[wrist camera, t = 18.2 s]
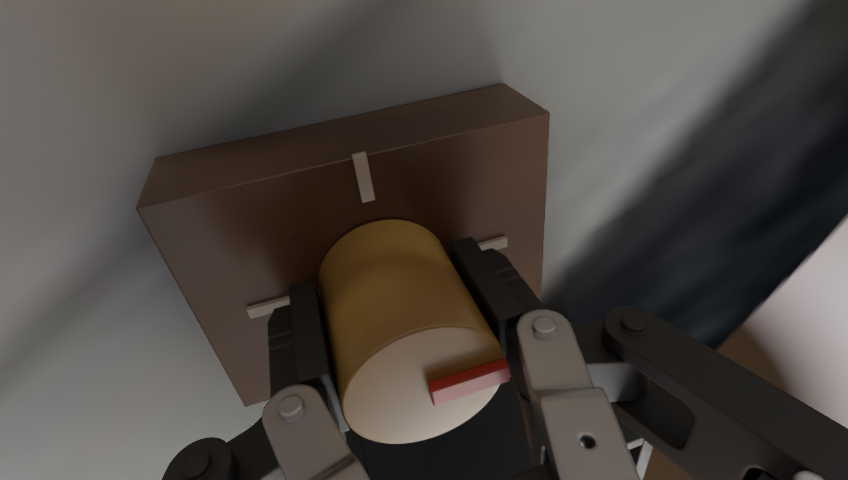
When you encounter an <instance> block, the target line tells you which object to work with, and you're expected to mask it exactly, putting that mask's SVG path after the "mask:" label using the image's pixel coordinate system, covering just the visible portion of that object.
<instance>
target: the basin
mask: <svg viewBox="0 0 848 480" xmlns="http://www.w3.org/2000/svg"><path fill="white" fill-rule="evenodd" d="M568 321H569V322H570V320H568ZM616 418H617V417H616ZM617 421H618V423H619V426H620V428H621V431H622V433H623V436H624V438H625V441H626V443H627V446H628V448H629V451H630V453H631V456H632V458H633V461H634V463H635V466H636V468H637V471H638V473H639V476H640V478H641V480H643V477H644V474H645V471H646V467H647V464H648V461H649V458H650V455H651V452H652V448H653V446H651V445H650V444H649V443H648V442H646V441H645V440H644V439H643V438H641V437H640V436H639V435H638V434H636V433H635V432H634V431H633V430H631V429H630V428H629V427H628V426H626V425H625V424H624V423H623V422H621V421H620V420H619V419H618V418H617ZM345 436H346V442H347V444H348V446H349V448H350V450H351V452H352V453H353V455H356V456H357V458H358V459H359V461H360V463H361V464H362V466H363V468H364V470H365V471H366V473H367V475H368V477H369V478H370V480H508V479H509V478H511V477H512V476H513V475H515V474H518V473H521V472H523V471H526V470H529V469H531V464H530V457H529V452H528V448H527V443H526V438H525V434H524V429H523V424H522V420H521V415H520V411H519V406H518V401H517V397H516V384H515V382H514V381H513V379H512V377H510V380H509V381H508V382H505V383H502V384H500V386H499V387H498V389H497V391H496V393H495V394H494V395H493V397H492V398H491V399H490V401H489V402H488V403H487V404H486V405H485V406H484V407H483V408H482V409H481V410H480V411H479V412H478V413H476V414H475V415H474V416H473V417H471V418H470V419H469V420H467V421H466V422H464V423H463V424H461V425H459V426H457V427H456V428H454V429H452V430H450V431H448V432H446V433H443V434H441V435H438V436H436V437H433V438H429V439H426V440H422V441H418V442H412V443H403V444H387V443H380V442H375V441H371V440H369V439H366V438H364V437H362V436H360V435H358V434H357V433H355V432H354V431H353V430H352V429H351V428H350V427H349V431H346V432H345Z"/></svg>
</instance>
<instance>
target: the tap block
mask: <svg viewBox="0 0 848 480" xmlns="http://www.w3.org/2000/svg"><path fill="white" fill-rule="evenodd" d="M549 116H550V113H549V112H548V111H547V110H545V109H544V108H542V107H541V106H539V105H537V104H536V103H534V102H533V101H531V100H530V99H528V98H526V97H525V96H523V95H522V94H520V93H519V92H517V91H516V90H514V89H512V88H511V87H509V86H508V85H506V84H499V85H495V86H490V87H485V88H481V89H476V90H471V91H467V92H462V93H458V94H453V95H448V96H444V97H439V98H434V99H430V100H425V101H420V102H416V103H411V104H406V105H402V106H397V107H392V108H388V109H383V110H378V111H374V112H369V113H364V114H360V115H355V116H351V117H346V118H341V119H337V120H332V121H327V122H323V123H318V124H313V125H309V126H304V127H299V128H295V129H290V130H285V131H281V132H276V133H271V134H267V135H262V136H257V137H253V138H248V139H243V140H239V141H234V142H230V143H225V144H220V145H216V146H211V147H206V148H202V149H197V150H192V151H188V152H183V153H178V154H174V155H169V156H164V157H160V158H156V159H155V161H154V163H153V166H152V168H151V171H150V173H149V176H148V178H147V181H146V183H145V186H144V188H143V191H142V193H141V195H140V198H139V200H138V203H137V205H136V210H137V212H138V214H139V215H140V217H141V219H142V221H143V223H144V224H145V226H146V228H147V230H148V232H149V233H150V235H151V237H152V239H153V241H154V243H155V244H156V246H157V248H158V250H159V252H160V253H161V255H162V257H163V259H164V261H165V262H166V264H167V266H168V268H169V270H170V271H171V273H172V275H173V277H174V279H175V281H176V282H177V284H178V286H179V288H180V290H181V291H182V293H183V295H184V297H185V299H186V300H187V302H188V304H189V306H190V308H191V310H192V311H193V313H194V315H195V317H196V319H197V320H198V322H199V324H200V326H201V328H202V329H203V331H204V333H205V335H206V337H207V339H208V340H209V342H210V344H211V346H212V348H213V349H214V351H215V353H216V355H217V357H218V358H219V360H220V362H221V364H222V366H223V367H224V369H225V371H226V373H227V375H228V377H229V378H230V380H231V382H232V384H233V386H234V387H235V389H236V391H237V393H238V395H239V396H240V398H241V400H242V402H243V404H244V406H245V407H247V406H250V405H253V404H257V403H260V402H263V401H266V400H269V399H270V394H271V393H270V370H269V348H268V340H269V339H268V325H267V323H268V321H269V319H270V317H271V315H272V312H273V310H274V309H275V308H278V307H282V306H285V305H289V304H290V299H289V290H288V287H289V286H291V285H295V284H299V283H302V282H306V281H310V280H314V282H315V284H316V287H317V290H318V293H319V289H318V275H319V270H320V267H321V264H322V262H323V260H324V258H325V256H326V255H327V253H328V251H329V250H330V249H331V248H332V246H333V245H334V244H335V243H336V242H337V241H338V240H339V239H340V238H342V237H343V236H344V235H346V234H347V233H349V232H350V231H352V230H354V229H356V228H358V227H360V226H362V225H365V224H368V223H371V222H375V221H380V220H390V219H393V220H404V221H409V222H413V223H416V224H418V225H420V226H423V227H424V228H426V229H428V230H429V231H430V232H431V233H433V234H434V235H435V236H436V238H437V239H438V240H439V241H440V243H441V245H442V247H443V248H444V250H445V252H446V253H447V255H448V243H450V242H453V241H457V240H461V239H464V238H468V237H473V238H474V240H475V241H476V243H477V244H478V245H479V247H480V248H481V250H482V251H483V250H486V249H490V248H493V249H495V250H497V251H498V252H500V253H502V254H504V255H505V256H506V257H507V258H508V259H509V261H510V262H511V263H512V265H513V266H514V269H516V270H517V271H518V273H519V274H520V276H521V278H523V279H524V280H525V282H526V283H527V284H528V286H529V287H530V288H531V290H532V291H533V292H534V294H535V295H536V296H537V298H538V299H539V300H540V301H541V280H542V260H543V239H544V219H545V198H546V177H547V157H548V136H549ZM319 297H320V294H319Z"/></svg>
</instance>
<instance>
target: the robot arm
mask: <svg viewBox="0 0 848 480" xmlns="http://www.w3.org/2000/svg"><path fill="white" fill-rule="evenodd" d="M448 257H449V258H450V260H451V262H452V264H453V265H454V267H455V269H456V270H457V272H458V274H459V275H460V277H461V279H462V280H463V282H464V284H465V286H466V287H467V289H468V291H469V292H470V294H471V296H472V297H473V299H474V301H475V303H476V304H477V306H478V308H479V309H480V311H481V313H482V314H483V316H484V318H485V320H486V321H487V323H488V325H489V326H490V328H491V330H492V331H493V333H494V335H495V337H496V338H497V340H498V342H499V343H500V345H501V347H502V349H503V352H504V357H505V359H506V361H507V363H508V364H509V366H510V377H512V379H513V381H514V382H515V384H516V397H517V401H518V406H519V411H520V415H521V420H522V424H523V429H524V434H525V438H526V443H527V448H528V452H529V457H530V464H531V469H529V470H526V471H523V472H521V473H518V474H515V475H513V476H512V477H511V478H509V479H508V480H641V478H640V476H639V473H638V471H637V468H636V466H635V463H634V461H633V458H632V456H631V453H630V451H629V448H628V446H627V443H626V441H625V438H624V436H623V433H622V431H621V428H620V426H619V423H618V421H617V418H618V419H619V420H620V421H621V422H623V423H624V424H625V425H626V426H628V427H629V428H630V429H631V430H633V431H634V432H635V433H636V434H638V435H639V436H640V437H641V438H643V439H644V440H645V441H646V442H648V443H649V444H650V445H651V446H653V447H654V448H655V449H656V450H658V451H659V452H660V453H661V454H662V455H664V456H665V457H666V458H667V459H669V460H670V461H671V462H672V463H674V464H675V465H677V467H679V468H680V469H681V470H683V471H684V472H685V473H686V474H687V475H689V476H690V477H691V478H692V479H694V480H848V429H847V428H845V427H844V426H842V425H840V424H839V423H837V422H835V421H834V420H832V419H830V418H829V417H827V416H825V415H823V414H822V413H820V412H818V411H817V410H815V409H813V408H812V407H810V406H808V405H807V404H805V403H803V402H801V401H800V400H798V399H796V398H794V397H793V396H791V395H789V394H788V393H786V392H784V391H783V390H781V389H779V388H778V387H776V386H774V385H772V384H771V383H769V382H768V381H766V380H764V379H762V378H761V377H759V376H757V375H756V374H754V373H752V372H751V371H749V370H747V369H745V368H744V367H742V366H740V365H739V364H737V363H735V362H734V361H732V360H730V359H729V358H727V357H725V356H723V355H722V354H720V353H718V352H717V351H715V350H713V349H712V348H710V347H708V346H706V345H705V344H703V343H701V342H700V341H698V340H696V339H695V338H693V337H691V336H690V335H688V334H686V333H684V332H683V331H681V330H679V329H678V328H676V327H674V326H673V325H671V324H669V323H667V322H666V321H664V320H662V319H661V318H659V317H657V316H656V315H654V314H652V313H651V312H649V311H647V310H645V309H642V308H639V307H634V306H620V307H616V308H613V309H611V310H610V311H609V312H608V313H607V314H606V315H605V318H604V322H590V323H575V322H569V321H568V320H567V319H566V318H565V317H564V316H562V315H561V314H559V313H557V312H554V311H551V310H547V309H546V308H545V307H544V305H543V304H542V303H541V301H540V300H539V299H538V298H537V296H536V295H535V294H534V292H533V291H532V290H531V288H530V287H529V286H528V284H527V283H526V282H525V280H524V279H523V278H521V276H520V274H519V273H518V271H517V270H516V269H514V266H513V265H512V263H511V262H510V261H509V259H508V258H507V257H506V256H505V255H504V254H502V253H500V252H498V251H497V250H495V249H493V248H490V249H486V250H483V251H482V250H481V248H480V247H479V245H478V244H477V243H476V241H475V240H474V238H473V237H468V238H464V239H461V240H457V241H453V242H450V243H448ZM288 290H289V299H290V304H289V305H285V306H282V307H278V308H275V309H274V310H273V312H272V315H271V317H270V319H269V321H268V323H267V325H268V339H269V340H268V348H269V370H270V393H271V394H270V400H269V401H268V402H267V404H266V406H265V407H264V410H263V413H262V417H261V418H260V419H259V420H258V421H257V422H256V423H255V424H254V425H253V426H252V427H250V428H249V429H248V430H246V431H244V432H243V433H241V434H240V435H238V436H237V437H235V438H233V439H232V440H230V441H229V442H227V443H226V442H225V441H224V440H222V439H219V438H212V437H210V438H204V439H200V440H198V441H195V442H193V443H191V444H189V445H188V446H186V447H185V448H184V449H182V450H181V451H180V452H179V453H178V454H177V455H176V456H175V457H174V459H173V460H172V461H171V463H170V464H169V466H168V468H167V470H166V472H165V474H164V476H163V478H162V480H370V478H369V477H368V475H367V473H366V471H365V470H364V468H363V466H362V464H361V463H360V461H359V459H358V458H357V456H356V455H353V453H352V452H351V450H350V448H349V446H348V444H347V443H346V441H345V439H344V437H343V435H342V434H341V433H343V432H346V431H349V426H348V424H347V423H346V422H345V420H344V418H343V416H342V412H341V408H340V403H339V397H338V392H337V386H336V381H335V376H334V370H333V365H332V359H331V354H330V348H329V343H328V338H327V332H326V327H325V321H324V316H323V310H322V305H321V300H320V297H319V293H318V290H317V287H316V284H315V282H314V280H310V281H306V282H302V283H299V284H295V285H291V286H289V287H288ZM616 417H617V418H616Z"/></svg>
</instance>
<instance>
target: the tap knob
mask: <svg viewBox="0 0 848 480" xmlns="http://www.w3.org/2000/svg"><path fill="white" fill-rule="evenodd" d="M318 289H319V294H320V300H321V305H322V310H323V316H324V321H325V327H326V332H327V338H328V343H329V348H330V354H331V359H332V365H333V370H334V376H335V381H336V386H337V392H338V397H339V403H340V408H341V412H342V416H343V418H344V420H345V422H346V423H347V424H348V426H349V427H350V428H351V429H352V430H353V431H354V432H355V433H357V434H358V435H360V436H362V437H364V438H366V439H369V440H371V441H375V442H380V443H387V444H403V443H412V442H418V441H422V440H426V439H429V438H433V437H436V436H438V435H441V434H443V433H446V432H448V431H450V430H452V429H454V428H456V427H457V426H459V425H461V424H463V423H464V422H466V421H467V420H469V419H470V418H471V417H473V416H474V415H475V414H476V413H478V412H479V411H480V410H481V409H482V408H483V407H484V406H485V405H486V404H487V403H488V402H489V401H490V399H491V398H492V397H493V395H494V394H495V393H496V391H497V389H498V387H499V386H500V384H502V383H505V382H508V381H509V380H510V366H509V364H508V363H507V361H506V359H505V357H504V352H503V349H502V347H501V345H500V343H499V342H498V340H497V338H496V337H495V335H494V333H493V331H492V330H491V328H490V326H489V325H488V323H487V321H486V320H485V318H484V316H483V314H482V313H481V311H480V309H479V308H478V306H477V304H476V303H475V301H474V299H473V297H472V296H471V294H470V292H469V291H468V289H467V287H466V286H465V284H464V282H463V280H462V279H461V277H460V275H459V274H458V272H457V270H456V269H455V267H454V265H453V264H452V262H451V260H450V258H449V257H448V255H447V253H446V252H445V250H444V248H443V247H442V245H441V243H440V241H439V240H438V239H437V238H436V236H435V235H434V234H433V233H431V232H430V231H429V230H428V229H426V228H424V227H423V226H420V225H418V224H416V223H413V222H409V221H404V220H393V219H390V220H380V221H375V222H371V223H368V224H365V225H362V226H360V227H358V228H356V229H354V230H352V231H350V232H349V233H347V234H346V235H344V236H343V237H342V238H340V239H339V240H338V241H337V242H336V243H335V244H334V245H333V246H332V248H331V249H330V250H329V251H328V253H327V255H326V256H325V258H324V260H323V262H322V264H321V267H320V270H319V275H318Z"/></svg>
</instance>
